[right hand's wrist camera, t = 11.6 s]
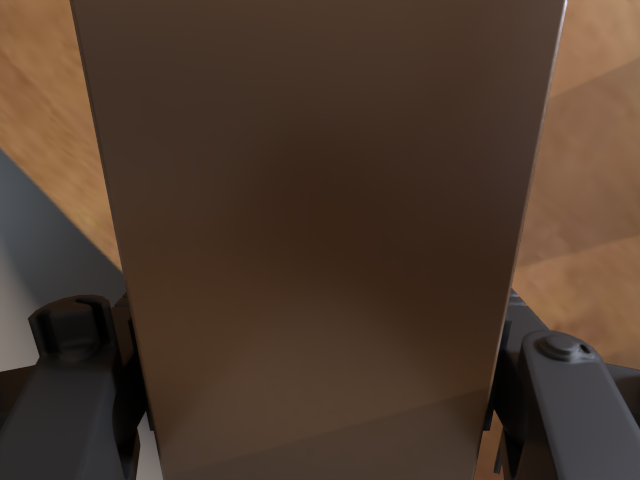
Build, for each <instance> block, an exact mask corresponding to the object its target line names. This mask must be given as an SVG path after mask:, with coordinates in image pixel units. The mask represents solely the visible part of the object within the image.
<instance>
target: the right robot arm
mask: <svg viewBox="0 0 640 480" xmlns="http://www.w3.org/2000/svg"><path fill="white" fill-rule="evenodd" d="M28 320H29V324H30V327H31V330H32V333H33V336H34V339H35V343H36V346H37V349H38V353H39V356H40V357H39V359H38V361H37V363H36V365H33V366H28V367H23V368H18V369H13V370H8V371H2V372H0V480H136V474H137V467H138V459H139V452H140V440H139V434H138V430H137V427H138V425H139V423H140V421H141V419H142V417H143V415H144V413H145V411H146V413H147V418H148V423H149V427H150V431H154V429H153V424H152V419H151V414H150V409H149V404H148V398H147V393H146V388H145V383H144V378H143V373H142V368H141V363H140V358H139V352H138V347H137V342H136V337H135V332H134V327H133V322H132V317H131V311H130V306H129V301H128V296H127V292H126V293H125V294H124V295H123V298H120V299H119V301H118V302H117V303H116V304H115V307H112V308H111V307H110V303H109V301H108V300H107V299H106V298H104V297H102V296H97V295H77V296H73V297H68V298H63V299H60V300H57V301H55V302H52V303H49V304H47V305H45V306H43V307H42V308H40V309H38V310H36V311H35V312H34V313H33V314H32V315H31V316H30V317H29V318H28ZM494 410H495V411H496V413H497V415H498V417H499V419H500V421H501V423H502V425H503V430H502V434H501V439H500V443H499V448H498V452H497V457H496V461H495V467H494V473H498V474H500V470H501V465H502V466H503V473H504V480H640V370H637V369H632V368H627V367H622V366H617V365H611V364H607V363H604V362H603V360H602V358H601V357H600V355H599V354H598V353H597V352H596V351H595V349H594V348H593V347H591V346H590V345H588V344H587V343H585V342H584V341H582V340H580V339H578V338H576V337H573V336H571V335H568V334H565V333H561V332H557V331H553V330H549V329H548V328H547V327H546V325H545V324H544V323H543V322H542V321H541V320H540V319H539V318H538V317H537V316H536V314H535V313H534V312H533V311H532V310H531V309H530V308H529V307H528V306H526V305H525V302H524V301H523V300H522V299H521V298H520V297H518V296H517V293H516V292H515V291H514V290H513V289H512V288H511V291H510V296H509V301H508V307H507V312H506V317H505V322H504V327H503V332H502V337H501V342H500V347H499V352H498V357H497V362H496V367H495V372H494V378H493V383H492V388H491V393H490V398H489V403H488V408H487V413H486V418H485V423H484V428H483V431H490V426H491V421H492V416H493V411H494Z"/></svg>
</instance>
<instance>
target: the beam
mask: <svg viewBox="0 0 640 480" xmlns="http://www.w3.org/2000/svg"><path fill="white" fill-rule="evenodd" d="M567 2H568V0H70V4H71V10H72V15H73V20H74V25H75V30H76V35H77V40H78V45H79V50H80V56H81V61H82V66H83V71H84V76H85V81H86V86H87V91H88V97H89V102H90V107H91V112H92V117H93V122H94V127H95V132H96V137H97V143H98V148H99V153H100V158H101V163H102V168H103V173H104V178H105V184H106V189H107V194H108V199H109V204H110V209H111V214H112V219H113V224H114V230H115V235H116V240H117V245H118V250H119V255H120V260H121V265H122V271H123V276H124V281H125V285H126V291H127V296H128V301H129V306H130V311H131V317H132V322H133V327H134V332H135V337H136V342H137V347H138V352H139V358H140V363H141V368H142V373H143V378H144V383H145V388H146V393H147V398H148V404H149V409H150V414H151V419H152V424H153V429H154V434H155V439H156V444H157V450H158V455H159V460H160V465H161V470H162V475H163V480H473V479H474V474H475V469H476V464H477V459H478V454H479V448H480V443H481V438H482V433H483V428H484V423H485V418H486V413H487V408H488V403H489V398H490V393H491V388H492V383H493V378H494V372H495V367H496V362H497V357H498V352H499V347H500V342H501V337H502V332H503V327H504V322H505V317H506V312H507V307H508V301H509V296H510V291H511V286H512V281H513V276H514V271H515V266H516V261H517V256H518V251H519V246H520V241H521V236H522V231H523V225H524V220H525V215H526V210H527V205H528V200H529V195H530V190H531V185H532V180H533V175H534V170H535V165H536V160H537V154H538V149H539V144H540V139H541V134H542V129H543V124H544V119H545V114H546V109H547V104H548V99H549V94H550V89H551V84H552V78H553V73H554V68H555V63H556V58H557V53H558V48H559V43H560V38H561V33H562V28H563V23H564V18H565V13H566V7H567Z"/></svg>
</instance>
